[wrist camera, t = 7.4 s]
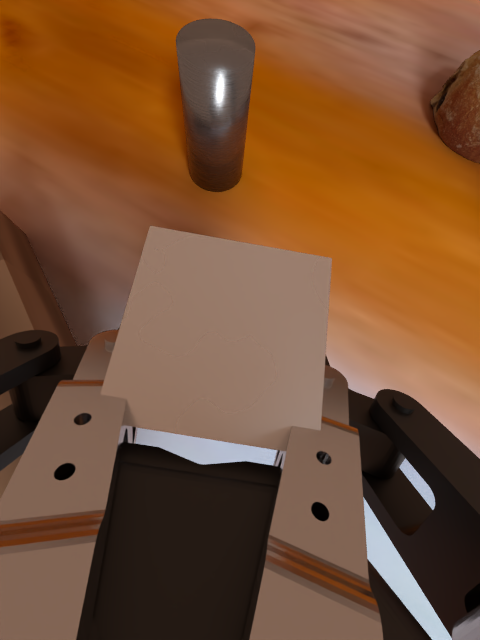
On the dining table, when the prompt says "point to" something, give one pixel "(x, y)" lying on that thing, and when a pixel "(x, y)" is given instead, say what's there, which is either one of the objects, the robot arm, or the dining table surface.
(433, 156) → the dining table surface
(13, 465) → the socket block
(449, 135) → the bread roll
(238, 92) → the round bit
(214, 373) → the square bit
